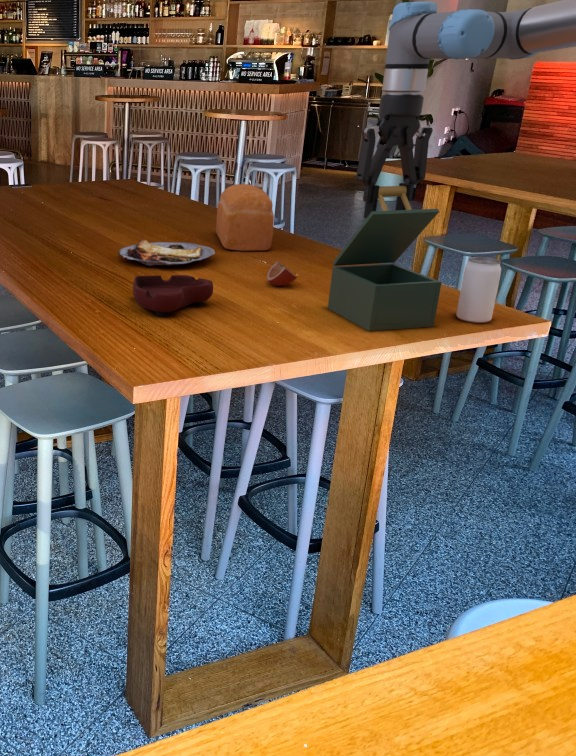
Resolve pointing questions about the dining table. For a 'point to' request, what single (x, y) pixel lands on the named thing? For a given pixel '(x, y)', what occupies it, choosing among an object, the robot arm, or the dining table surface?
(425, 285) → the chest
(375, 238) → the lid
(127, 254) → the food plate
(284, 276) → the fruit slice
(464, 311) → the can
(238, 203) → the bread
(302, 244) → the dining table surface
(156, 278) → the ashtray
